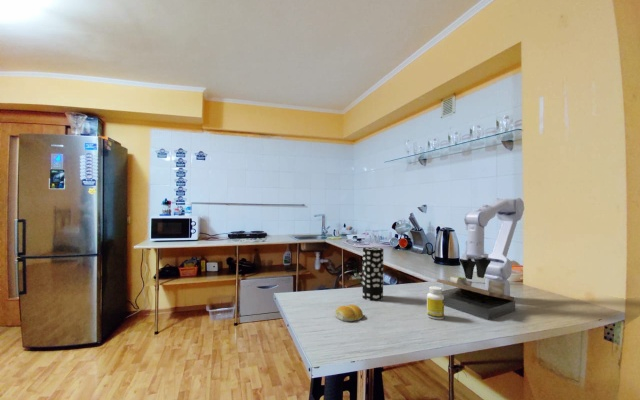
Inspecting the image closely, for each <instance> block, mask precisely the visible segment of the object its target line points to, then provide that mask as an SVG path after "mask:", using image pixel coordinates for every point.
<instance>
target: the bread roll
mask: <svg viewBox="0 0 640 400" xmlns="http://www.w3.org/2000/svg"><path fill="white" fill-rule="evenodd" d="M334 315H335V318H336V319H338V320H339V321H342V322H347V321H351V322H355V321H359V320H362V318H363V310H362V308H360V307H359V306H357V305H355V304H348V305H342V306H341V305H340V306H338V307H337V308H336V309H335V313H334Z"/></svg>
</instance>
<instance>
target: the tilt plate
mask: <svg viewBox="0 0 640 400" xmlns="http://www.w3.org/2000/svg"><path fill="white" fill-rule="evenodd" d="M437 283H441V284H444V285H448V286H452V287H455V288H462V289H466V290H470V291H473V292H477V293H481V294H485V295H489V296H494V297H499V298H504V299H509V300H513V301H515V297H514V296H511V295H510V296H508V295H504V288H505V284H504V283H500V282H496V281H491V280H489V286H488V290H485V288H484V289H483V288H480V287H475V286H472V284H473V281H470V280H468V279H467V278H466V277H461V276H456V277H454V276H450V280H444V279H440V278H437Z"/></svg>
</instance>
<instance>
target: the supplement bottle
mask: <svg viewBox="0 0 640 400" xmlns="http://www.w3.org/2000/svg"><path fill="white" fill-rule="evenodd" d="M428 289H429V292H428V293H427V294H426V316H427V317H428V318H430V319H432V320H443V319H444V317H445V306H444V296H443V295H442V294H441V293H442V291H443V288H442V287H440V286H434V285H433V286H429V288H428Z"/></svg>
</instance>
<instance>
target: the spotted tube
mask: <svg viewBox="0 0 640 400" xmlns="http://www.w3.org/2000/svg"><path fill="white" fill-rule="evenodd" d="M361 294H362V295H361V296H362V299H364V300H366V301H372V302H378V301H379V302H380V301H382V300H383V299H384V248H382V247H362V293H361Z"/></svg>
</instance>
